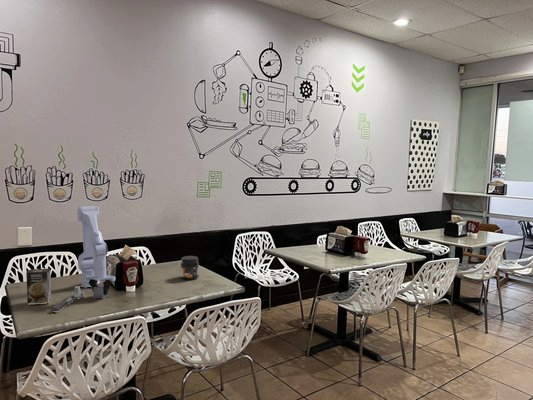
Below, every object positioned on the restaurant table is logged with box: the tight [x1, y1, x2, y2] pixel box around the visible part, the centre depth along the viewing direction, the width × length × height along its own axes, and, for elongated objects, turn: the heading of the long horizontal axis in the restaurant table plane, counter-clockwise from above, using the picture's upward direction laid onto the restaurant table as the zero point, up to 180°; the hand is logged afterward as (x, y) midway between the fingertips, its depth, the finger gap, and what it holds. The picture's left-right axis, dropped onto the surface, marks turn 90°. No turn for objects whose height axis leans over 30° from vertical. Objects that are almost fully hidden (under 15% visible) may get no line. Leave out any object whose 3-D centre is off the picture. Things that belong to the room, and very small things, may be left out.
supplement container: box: [180, 255, 200, 281], centre depth 240 cm, size 10×10×12 cm
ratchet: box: [51, 285, 85, 312], centre depth 196 cm, size 23×6×6 cm, turn 176°
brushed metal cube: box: [92, 283, 109, 299], centre depth 206 cm, size 5×5×6 cm
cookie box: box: [25, 268, 52, 303], centre depth 196 cm, size 9×6×16 cm
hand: (100, 294), depth 206 cm, fingers closed on brushed metal cube, 5 cm apart
